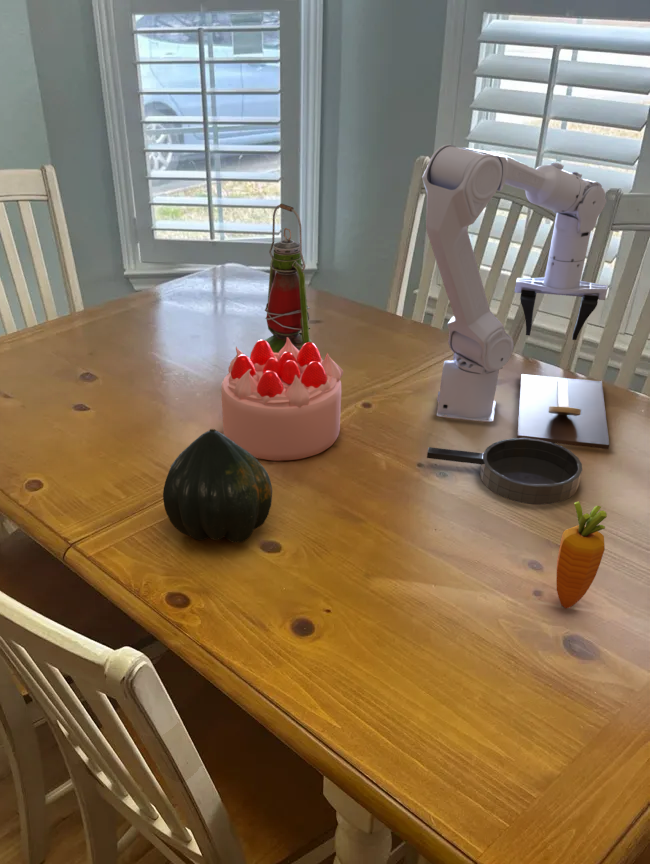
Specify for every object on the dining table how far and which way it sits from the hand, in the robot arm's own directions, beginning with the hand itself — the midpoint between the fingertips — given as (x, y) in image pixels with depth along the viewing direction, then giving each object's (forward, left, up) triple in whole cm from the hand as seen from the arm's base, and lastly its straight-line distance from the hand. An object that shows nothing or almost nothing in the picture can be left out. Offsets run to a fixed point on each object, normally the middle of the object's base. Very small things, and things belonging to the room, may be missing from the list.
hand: (551, 335), depth 143 cm
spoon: (+3, -9, -11) cm, 14 cm away
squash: (-44, -55, -11) cm, 71 cm away
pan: (-2, -32, -10) cm, 34 cm away
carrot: (+3, -61, -11) cm, 62 cm away
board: (+3, -8, -10) cm, 14 cm away
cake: (-42, -26, -11) cm, 50 cm away
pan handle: (-13, -32, -8) cm, 36 cm away
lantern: (-48, +1, -11) cm, 49 cm away
